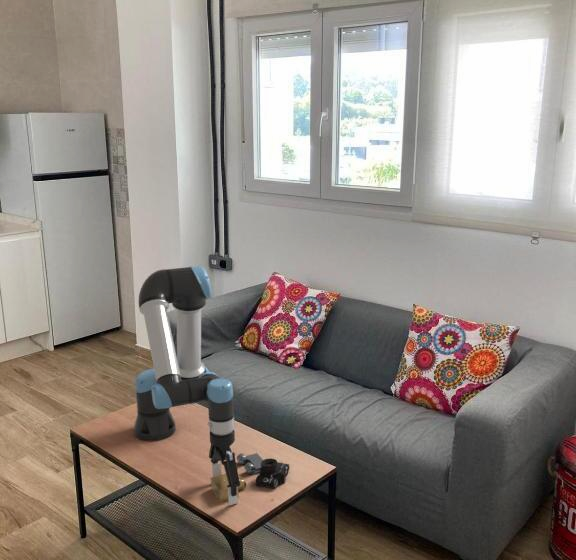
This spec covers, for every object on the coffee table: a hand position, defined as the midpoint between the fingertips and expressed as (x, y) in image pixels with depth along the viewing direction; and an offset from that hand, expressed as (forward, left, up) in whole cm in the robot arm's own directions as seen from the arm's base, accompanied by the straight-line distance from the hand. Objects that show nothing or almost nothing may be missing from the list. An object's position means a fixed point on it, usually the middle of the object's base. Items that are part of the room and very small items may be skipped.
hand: (225, 492), depth 199 cm
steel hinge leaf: (-10, +14, 0) cm, 17 cm away
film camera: (-1, +17, -1) cm, 17 cm away
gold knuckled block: (0, +2, 0) cm, 2 cm away
